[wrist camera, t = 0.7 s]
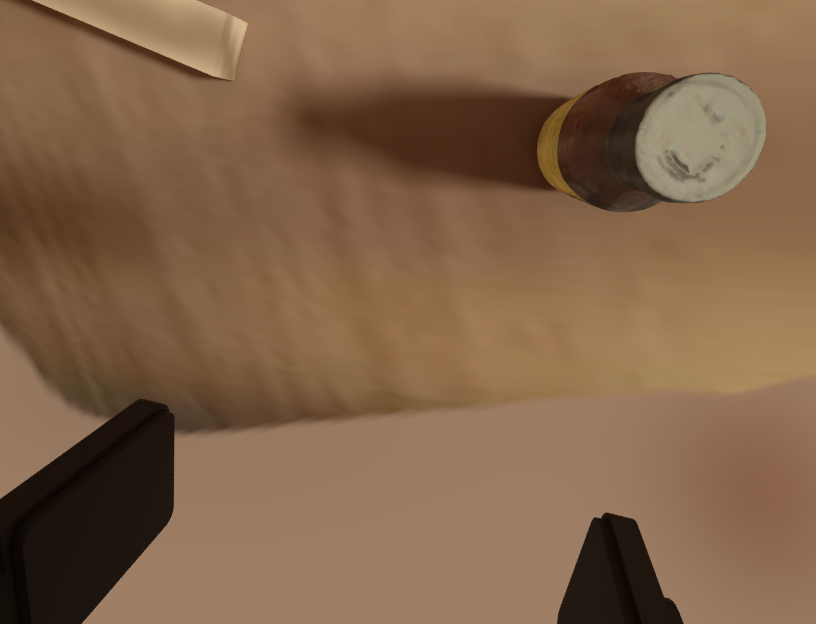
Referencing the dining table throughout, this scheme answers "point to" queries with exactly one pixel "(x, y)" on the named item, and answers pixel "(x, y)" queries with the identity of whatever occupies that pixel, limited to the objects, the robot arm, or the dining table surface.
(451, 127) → the dining table surface
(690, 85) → the sauce bottle
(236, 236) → the dining table surface
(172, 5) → the pale grey bar
